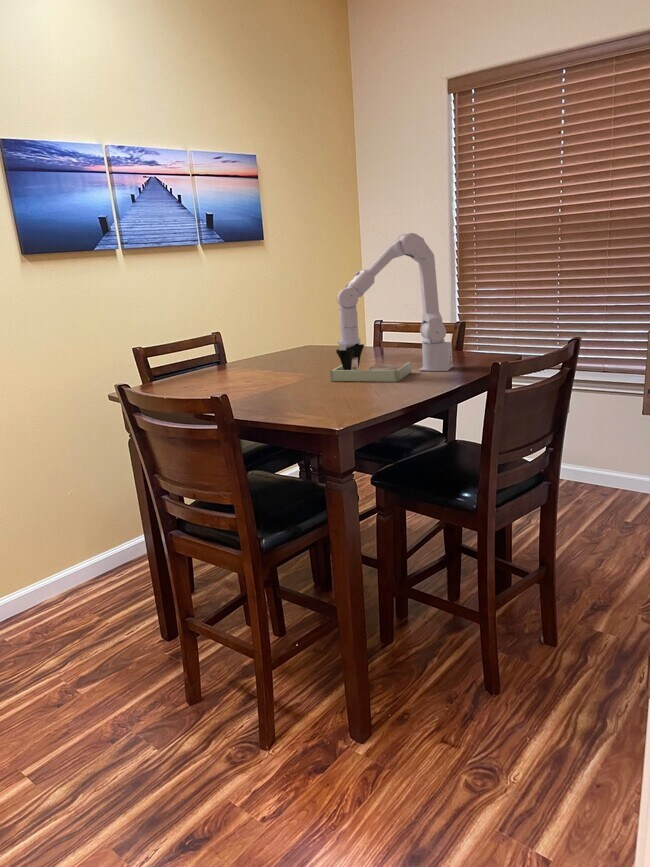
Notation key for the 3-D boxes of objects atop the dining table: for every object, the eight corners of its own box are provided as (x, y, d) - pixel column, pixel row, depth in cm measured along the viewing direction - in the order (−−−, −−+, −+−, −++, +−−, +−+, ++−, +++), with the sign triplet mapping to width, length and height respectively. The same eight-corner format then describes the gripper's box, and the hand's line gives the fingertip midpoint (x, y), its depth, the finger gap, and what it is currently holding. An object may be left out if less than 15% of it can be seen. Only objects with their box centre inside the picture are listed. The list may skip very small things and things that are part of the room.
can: (360, 374, 213) (359, 356, 211) (356, 376, 209) (355, 358, 207) (347, 374, 214) (346, 356, 213) (342, 376, 210) (341, 359, 209)
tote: (411, 372, 210) (410, 362, 209) (398, 382, 197) (397, 370, 196) (347, 372, 219) (346, 362, 218) (331, 381, 206) (330, 370, 205)
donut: (365, 375, 210) (370, 380, 200) (364, 365, 209) (370, 369, 199) (395, 373, 211) (402, 378, 201) (395, 362, 210) (402, 367, 200)
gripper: (345, 324, 215) (347, 365, 219) (328, 330, 202) (331, 373, 206) (365, 323, 213) (367, 365, 216) (350, 329, 200) (352, 373, 203)
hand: (351, 369), depth 211 cm, fingers open, 7 cm apart
